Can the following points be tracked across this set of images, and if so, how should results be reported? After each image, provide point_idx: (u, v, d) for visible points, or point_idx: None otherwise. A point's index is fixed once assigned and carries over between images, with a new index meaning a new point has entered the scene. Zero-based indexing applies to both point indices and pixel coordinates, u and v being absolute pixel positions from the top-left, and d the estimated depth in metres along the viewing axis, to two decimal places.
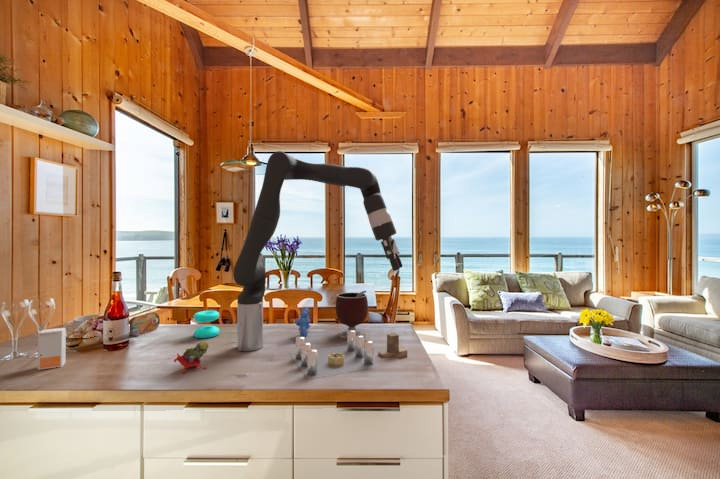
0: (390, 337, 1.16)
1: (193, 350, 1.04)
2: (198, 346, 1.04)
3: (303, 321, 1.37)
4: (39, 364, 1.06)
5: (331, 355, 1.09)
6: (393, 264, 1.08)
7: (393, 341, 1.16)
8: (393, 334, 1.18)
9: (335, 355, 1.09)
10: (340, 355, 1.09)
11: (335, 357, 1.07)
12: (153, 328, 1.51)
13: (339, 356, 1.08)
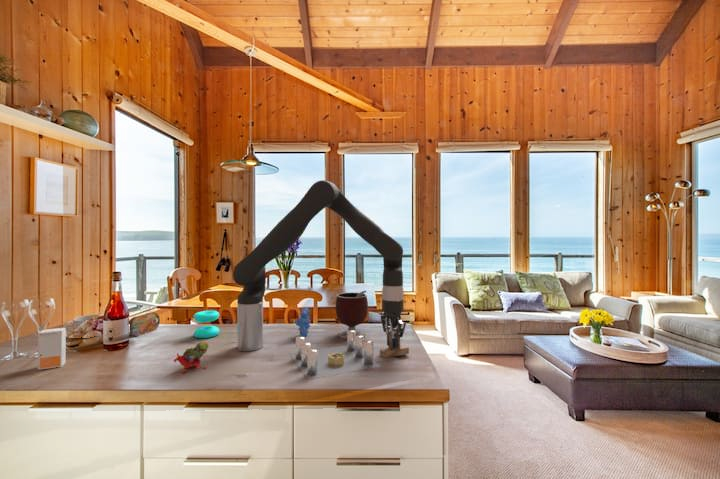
0: (391, 335, 1.17)
1: (193, 350, 1.04)
2: (198, 346, 1.04)
3: (303, 321, 1.37)
4: (39, 364, 1.06)
5: (331, 355, 1.09)
6: (396, 343, 1.15)
7: None
8: None
9: (335, 355, 1.09)
10: (340, 355, 1.09)
11: (335, 357, 1.07)
12: (153, 328, 1.51)
13: (339, 356, 1.08)
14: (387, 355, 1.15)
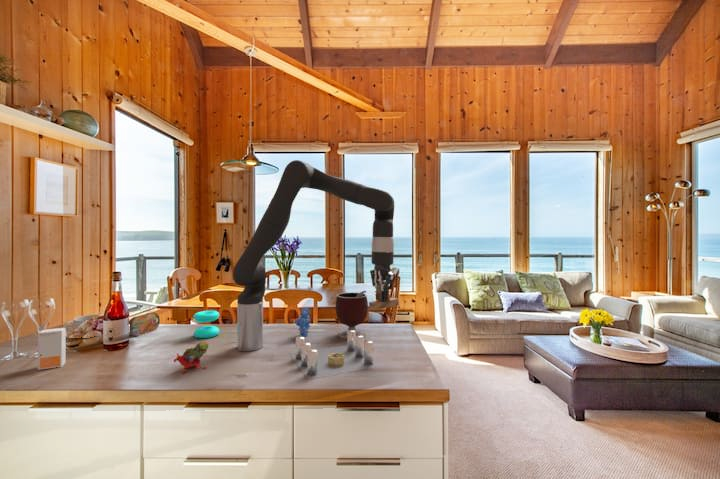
0: (379, 286, 1.14)
1: (193, 350, 1.04)
2: (198, 346, 1.04)
3: (303, 321, 1.37)
4: (39, 364, 1.06)
5: (331, 355, 1.09)
6: (385, 296, 1.12)
7: None
8: None
9: (335, 355, 1.09)
10: (340, 355, 1.09)
11: (335, 357, 1.07)
12: (153, 328, 1.51)
13: (339, 356, 1.08)
14: (376, 307, 1.12)
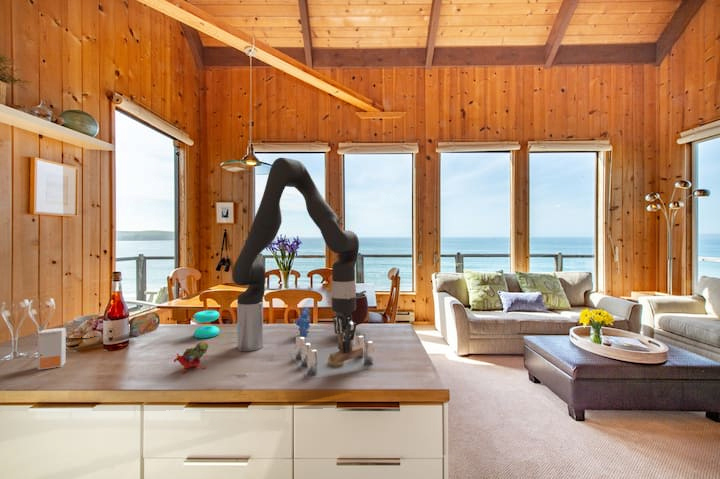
0: (339, 336, 1.02)
1: (193, 350, 1.04)
2: (198, 346, 1.04)
3: (303, 321, 1.37)
4: (39, 364, 1.06)
5: None
6: (346, 347, 1.00)
7: None
8: None
9: None
10: None
11: None
12: (153, 328, 1.51)
13: None
14: (337, 360, 1.01)
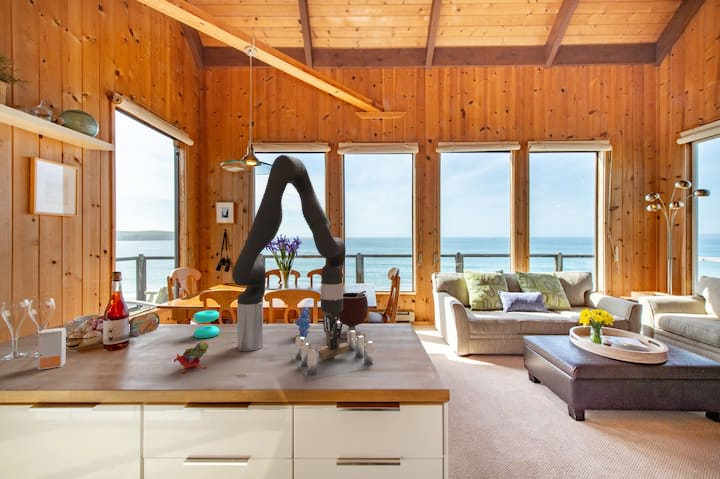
0: (327, 334, 1.11)
1: (193, 350, 1.04)
2: (198, 346, 1.04)
3: (303, 321, 1.37)
4: (39, 364, 1.06)
5: (324, 348, 1.16)
6: (334, 344, 1.10)
7: None
8: None
9: None
10: None
11: None
12: (153, 328, 1.51)
13: None
14: (325, 356, 1.10)
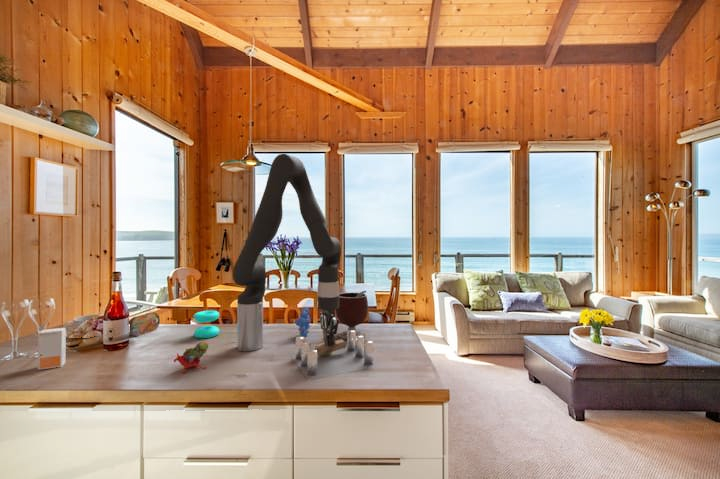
0: (324, 331, 1.14)
1: (193, 350, 1.04)
2: (198, 346, 1.04)
3: (303, 321, 1.37)
4: (39, 364, 1.06)
5: None
6: (330, 340, 1.13)
7: None
8: None
9: None
10: None
11: None
12: (153, 328, 1.51)
13: None
14: (321, 352, 1.13)
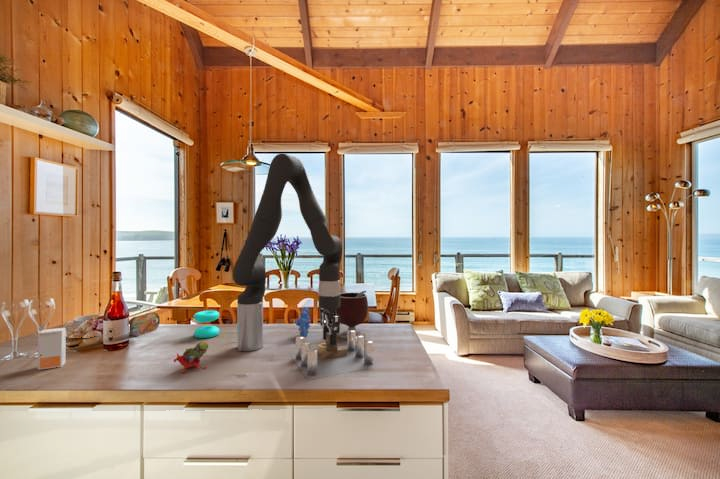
0: (328, 336, 1.14)
1: (193, 350, 1.04)
2: (198, 346, 1.04)
3: (303, 321, 1.37)
4: (39, 364, 1.06)
5: (321, 345, 1.19)
6: (333, 339, 1.11)
7: None
8: None
9: (325, 344, 1.20)
10: None
11: (324, 346, 1.18)
12: (153, 328, 1.51)
13: None
14: (323, 356, 1.12)
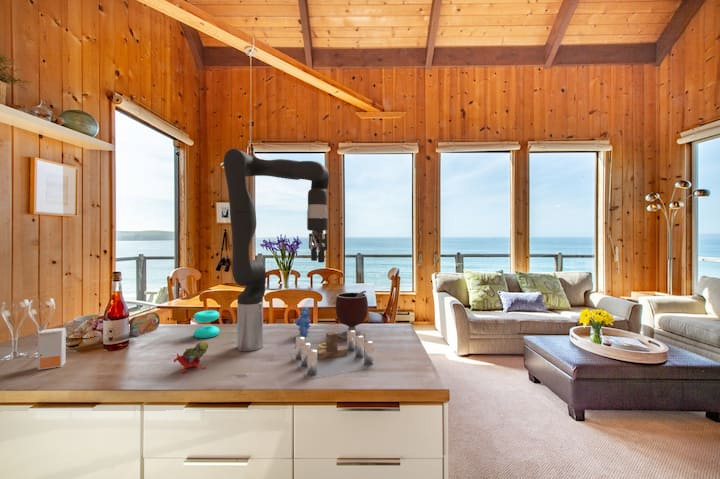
0: (328, 336, 1.14)
1: (193, 350, 1.04)
2: (198, 346, 1.04)
3: (303, 321, 1.37)
4: (39, 364, 1.06)
5: (321, 345, 1.19)
6: (321, 256, 1.18)
7: (331, 340, 1.14)
8: (332, 333, 1.15)
9: (325, 344, 1.20)
10: None
11: (324, 346, 1.18)
12: (153, 328, 1.51)
13: None
14: (323, 356, 1.12)
